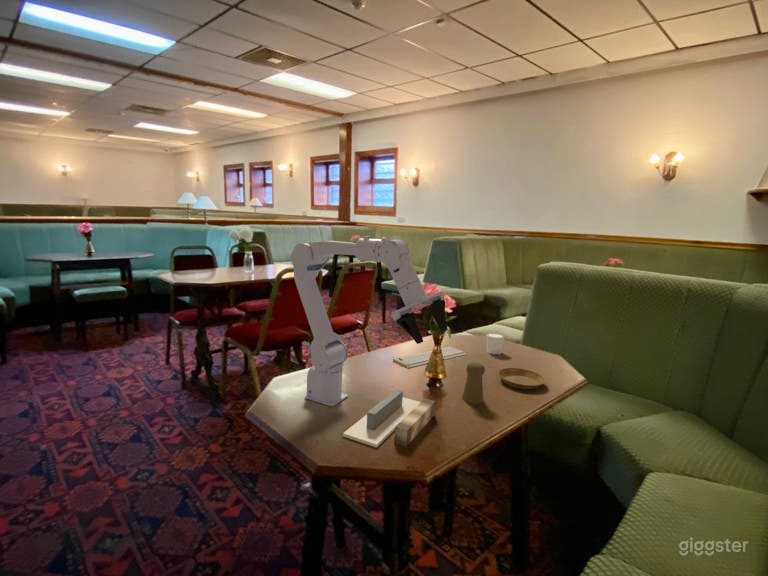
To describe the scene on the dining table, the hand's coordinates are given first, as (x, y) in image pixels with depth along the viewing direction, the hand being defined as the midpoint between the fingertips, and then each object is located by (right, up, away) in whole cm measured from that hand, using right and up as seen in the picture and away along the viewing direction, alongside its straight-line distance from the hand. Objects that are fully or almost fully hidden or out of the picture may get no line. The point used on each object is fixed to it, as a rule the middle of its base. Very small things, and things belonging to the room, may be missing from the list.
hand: (432, 336), depth 100 cm
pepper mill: (+14, -21, +23) cm, 34 cm away
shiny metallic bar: (-4, -23, +4) cm, 24 cm away
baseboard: (+6, -15, +57) cm, 59 cm away
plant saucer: (+33, -20, +38) cm, 54 cm away
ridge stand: (-11, -22, +8) cm, 26 cm away
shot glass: (+32, -14, +68) cm, 77 cm away
